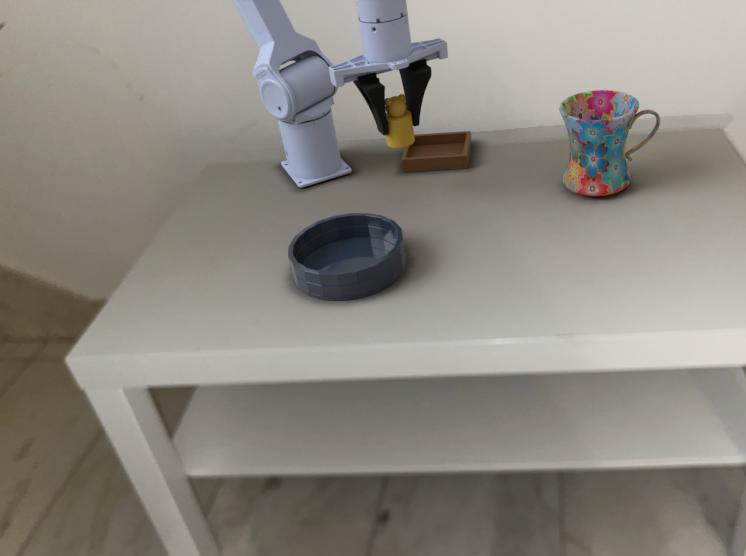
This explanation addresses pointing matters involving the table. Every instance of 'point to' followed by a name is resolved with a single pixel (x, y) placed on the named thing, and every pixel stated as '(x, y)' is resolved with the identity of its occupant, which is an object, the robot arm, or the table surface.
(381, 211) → the table surface
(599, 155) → the mug
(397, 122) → the toy
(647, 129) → the table surface
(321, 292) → the bowl
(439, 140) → the tray
